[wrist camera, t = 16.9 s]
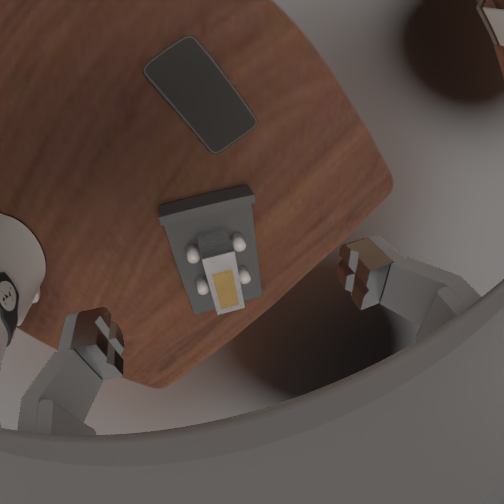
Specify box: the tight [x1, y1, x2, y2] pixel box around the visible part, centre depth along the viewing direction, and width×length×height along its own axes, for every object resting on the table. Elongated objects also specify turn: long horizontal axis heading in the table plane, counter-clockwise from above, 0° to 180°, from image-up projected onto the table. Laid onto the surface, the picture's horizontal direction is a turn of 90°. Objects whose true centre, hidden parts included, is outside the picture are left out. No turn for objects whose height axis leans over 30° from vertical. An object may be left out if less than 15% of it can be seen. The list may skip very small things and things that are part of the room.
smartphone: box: [143, 36, 257, 154], centre depth 28 cm, size 7×1×15 cm
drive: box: [196, 227, 245, 315], centre depth 38 cm, size 10×4×6 cm, turn 7°
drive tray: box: [159, 185, 262, 314], centre depth 39 cm, size 12×20×4 cm, turn 7°
